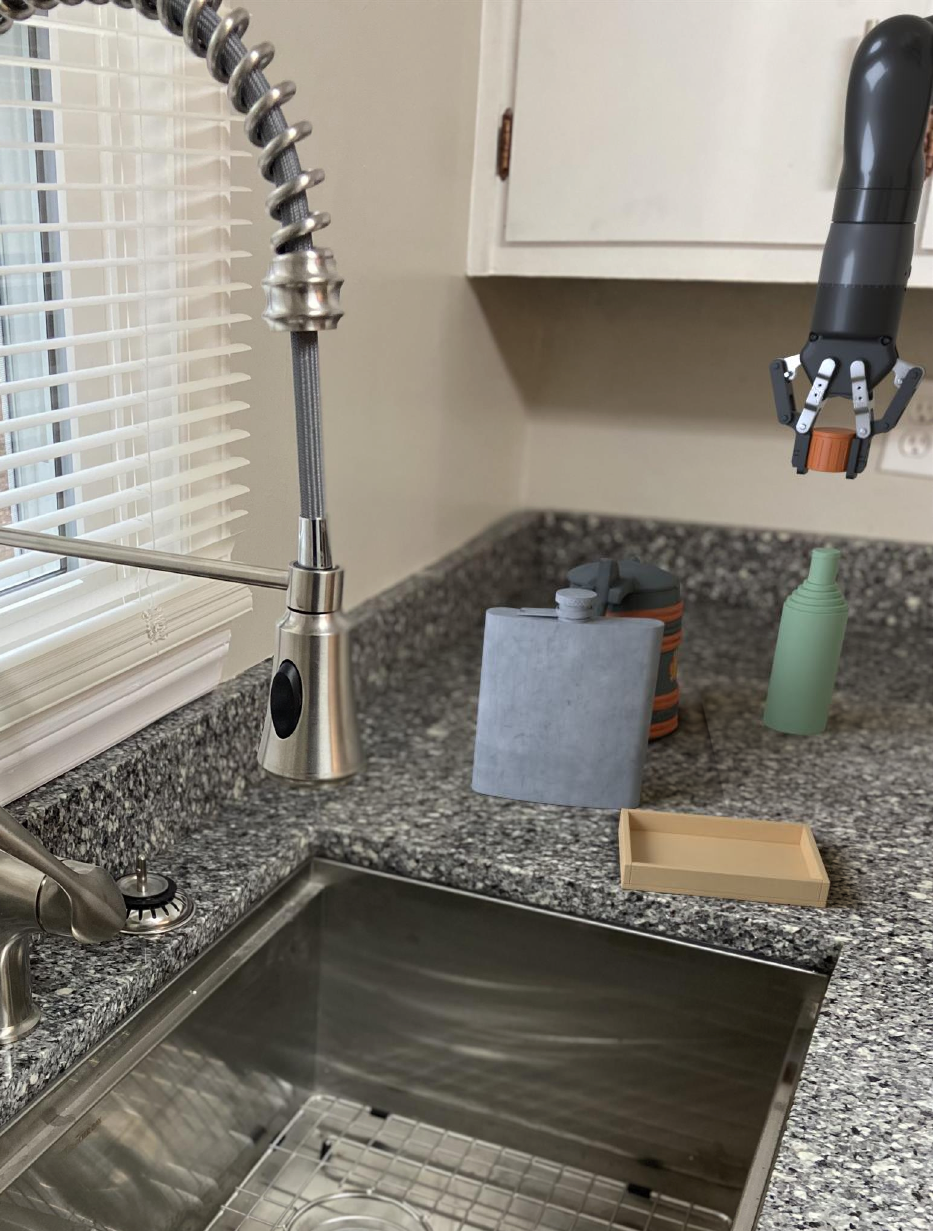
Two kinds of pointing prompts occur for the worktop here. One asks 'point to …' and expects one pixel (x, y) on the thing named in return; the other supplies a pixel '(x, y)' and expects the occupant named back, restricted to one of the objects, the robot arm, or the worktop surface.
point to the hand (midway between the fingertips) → (826, 474)
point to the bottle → (808, 650)
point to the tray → (721, 858)
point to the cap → (830, 449)
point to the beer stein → (641, 596)
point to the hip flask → (565, 704)
